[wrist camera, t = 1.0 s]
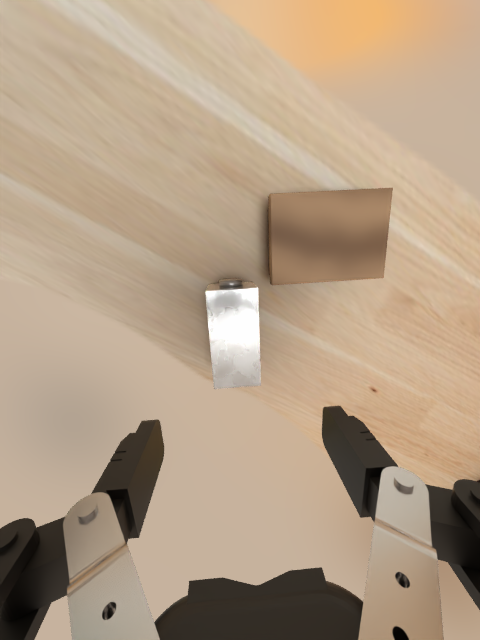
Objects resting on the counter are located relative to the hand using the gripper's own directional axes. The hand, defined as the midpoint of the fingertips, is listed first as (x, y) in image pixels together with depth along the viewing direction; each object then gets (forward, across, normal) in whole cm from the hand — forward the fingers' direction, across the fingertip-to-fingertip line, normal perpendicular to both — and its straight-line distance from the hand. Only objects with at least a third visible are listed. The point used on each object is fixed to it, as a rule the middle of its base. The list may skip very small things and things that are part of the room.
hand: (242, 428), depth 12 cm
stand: (+17, -10, -9) cm, 22 cm away
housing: (+18, 0, 0) cm, 18 cm away
